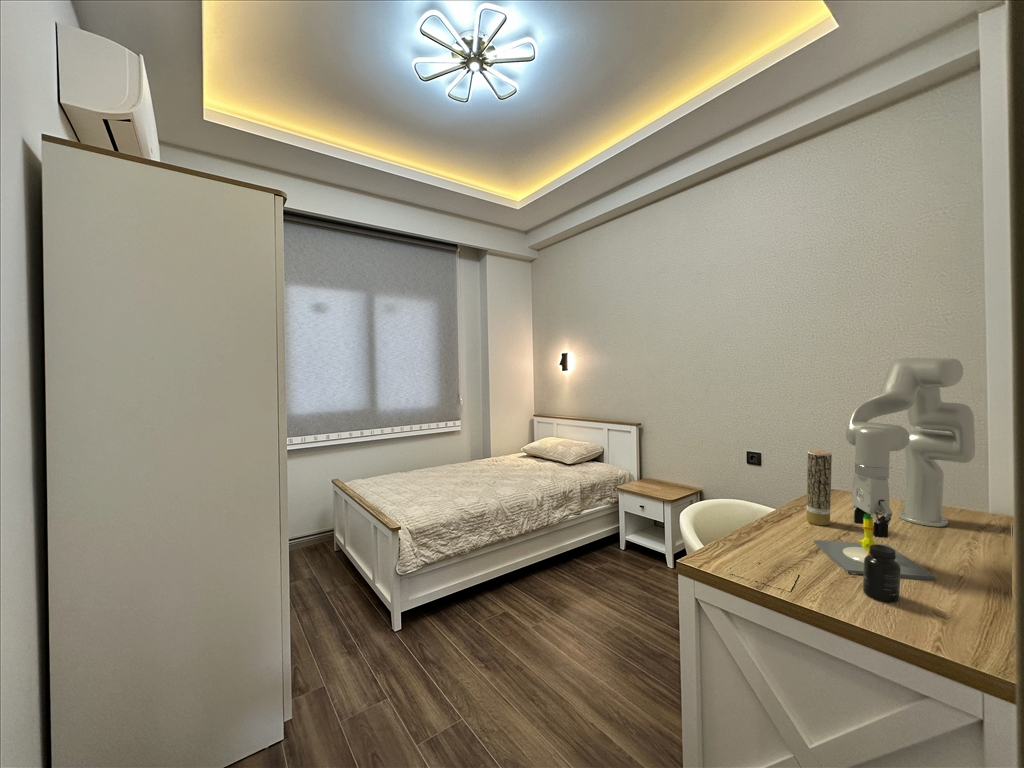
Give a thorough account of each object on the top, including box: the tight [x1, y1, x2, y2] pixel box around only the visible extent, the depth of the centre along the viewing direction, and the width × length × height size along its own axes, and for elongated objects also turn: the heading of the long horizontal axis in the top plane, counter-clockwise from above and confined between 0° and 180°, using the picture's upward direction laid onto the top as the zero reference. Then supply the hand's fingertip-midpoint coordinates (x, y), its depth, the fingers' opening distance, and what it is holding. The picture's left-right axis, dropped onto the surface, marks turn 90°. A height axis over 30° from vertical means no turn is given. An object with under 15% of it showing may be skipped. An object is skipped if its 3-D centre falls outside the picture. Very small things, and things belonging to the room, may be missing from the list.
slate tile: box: [813, 539, 936, 581], centre depth 127 cm, size 20×20×1 cm
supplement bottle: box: [862, 543, 901, 604], centre depth 107 cm, size 7×7×12 cm
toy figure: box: [857, 514, 877, 556], centre depth 126 cm, size 7×4×12 cm, turn 54°
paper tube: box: [806, 449, 833, 526], centre depth 154 cm, size 7×7×25 cm
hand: (870, 529), depth 126 cm, fingers open, 9 cm apart
